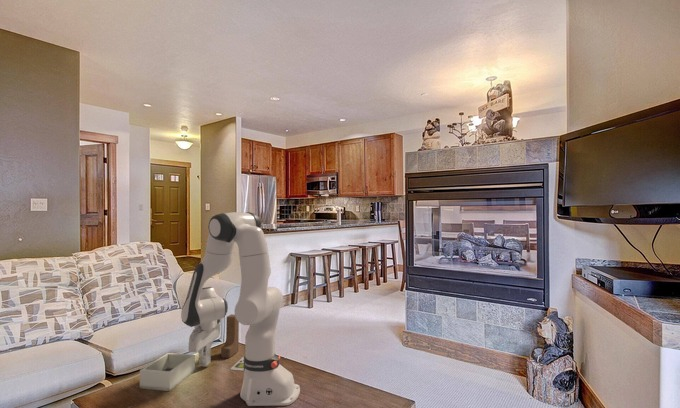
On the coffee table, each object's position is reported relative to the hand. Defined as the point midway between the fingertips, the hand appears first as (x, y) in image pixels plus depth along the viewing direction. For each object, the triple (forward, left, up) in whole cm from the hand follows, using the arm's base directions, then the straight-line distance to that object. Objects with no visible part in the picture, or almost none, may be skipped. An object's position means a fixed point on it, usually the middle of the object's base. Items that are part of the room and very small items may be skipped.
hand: (204, 354), depth 156 cm
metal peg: (0, 0, -4) cm, 4 cm away
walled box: (+8, +13, -5) cm, 17 cm away
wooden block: (-5, -15, -6) cm, 17 cm away
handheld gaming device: (-17, -7, -6) cm, 19 cm away
